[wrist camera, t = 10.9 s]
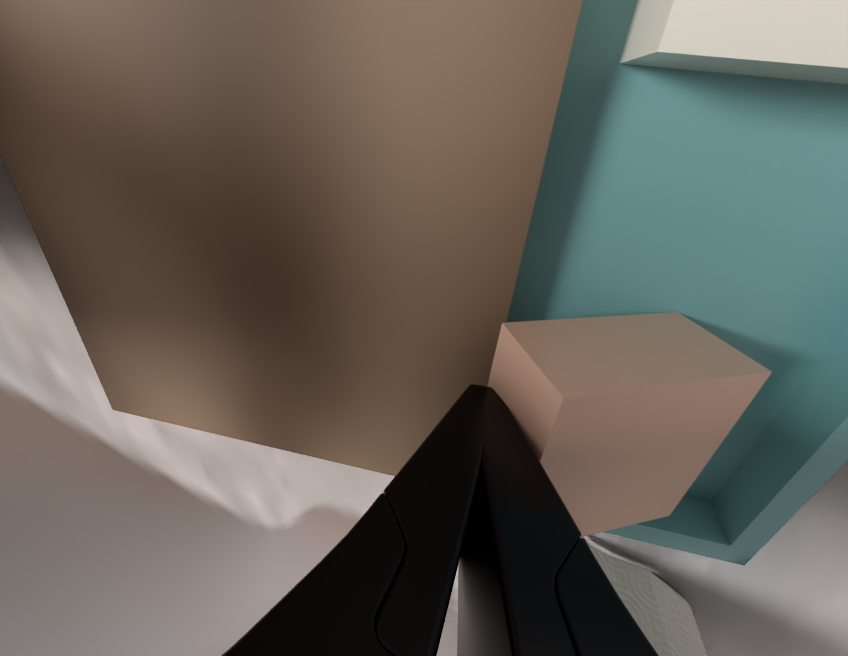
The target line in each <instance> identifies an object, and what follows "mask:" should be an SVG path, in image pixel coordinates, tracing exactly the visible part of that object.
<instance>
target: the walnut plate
mask: <svg viewBox="0 0 848 656" xmlns="http://www.w3.org/2000/svg"><path fill="white" fill-rule="evenodd" d="M582 1H583V0H0V155H1V157H2V159H3V162H4V164H5V166H6V168H7V171H8V173H9V175H10V177H11V180H12V182H13V184H14V187H15V189H16V191H17V193H18V196H19V198H20V200H21V202H22V205H23V207H24V209H25V212H26V214H27V216H28V218H29V221H30V223H31V225H32V227H33V230H34V232H35V234H36V236H37V239H38V241H39V243H40V246H41V248H42V250H43V252H44V255H45V257H46V259H47V261H48V264H49V266H50V268H51V271H52V273H53V275H54V277H55V280H56V282H57V284H58V286H59V289H60V291H61V293H62V296H63V298H64V300H65V302H66V305H67V307H68V309H69V311H70V314H71V316H72V318H73V320H74V323H75V325H76V327H77V330H78V332H79V334H80V336H81V339H82V341H83V343H84V345H85V348H86V350H87V352H88V355H89V357H90V359H91V361H92V364H93V366H94V368H95V370H96V373H97V375H98V377H99V380H100V382H101V384H102V386H103V389H104V391H105V393H106V395H107V398H108V400H109V402H110V404H111V407H112V409H113V410H116V411H120V412H125V413H129V414H133V415H137V416H142V417H146V418H150V419H154V420H159V421H163V422H167V423H171V424H176V425H180V426H184V427H188V428H193V429H197V430H201V431H205V432H210V433H214V434H218V435H222V436H227V437H231V438H235V439H239V440H244V441H248V442H252V443H256V444H261V445H265V446H269V447H273V448H278V449H282V450H286V451H291V452H295V453H299V454H303V455H308V456H312V457H316V458H320V459H325V460H329V461H333V462H337V463H342V464H346V465H350V466H354V467H359V468H363V469H367V470H371V471H376V472H380V473H384V474H388V475H393V476H396V475H397V474H398V472H399V471H400V470H401V469H402V467H403V466H404V465H405V464H406V462H407V461H408V460H409V459H410V457H411V456H412V455H413V454H414V453H415V451H416V450H417V449H418V448H419V446H420V445H421V444H422V443H423V441H424V440H425V439H426V438H427V436H428V435H429V434H430V433H431V431H432V430H433V429H434V428H435V426H436V425H437V424H438V423H439V421H440V420H441V419H442V418H443V416H444V415H445V414H446V413H447V412H448V410H449V409H450V408H451V407H452V405H453V404H454V403H455V402H456V400H457V399H458V398H459V397H460V395H461V394H462V393H463V392H464V390H465V389H466V388H467V387H468V386H469V385H470V384H476V385H482V386H487V385H488V381H489V376H490V372H491V368H492V364H493V359H494V355H495V351H496V347H497V342H498V338H499V334H500V330H501V325H502V323H506V321H507V317H508V313H509V309H510V305H511V300H512V296H513V292H514V288H515V284H516V279H517V275H518V271H519V267H520V262H521V258H522V254H523V250H524V246H525V241H526V237H527V233H528V229H529V224H530V220H531V216H532V212H533V208H534V203H535V199H536V195H537V191H538V186H539V182H540V178H541V174H542V170H543V165H544V161H545V157H546V153H547V149H548V144H549V140H550V136H551V132H552V127H553V123H554V119H555V115H556V111H557V106H558V102H559V98H560V94H561V89H562V85H563V81H564V77H565V73H566V68H567V64H568V60H569V56H570V51H571V47H572V43H573V39H574V35H575V30H576V26H577V22H578V18H579V13H580V9H581V5H582Z"/></svg>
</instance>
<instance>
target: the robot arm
mask: <svg viewBox="0 0 848 656" xmlns="http://www.w3.org/2000/svg"><path fill="white" fill-rule="evenodd" d="M458 563H459V572H458V644H457V656H659V655H658V654H657V652H656V651H655V649H654V648H653V646H652V645H651V644H650V642H649V641H648V639H647V638H646V636H645V635H644V633H643V632H642V630H641V629H640V627H639V626H638V624H637V623H636V621H635V620H634V618H633V617H632V615H631V614H630V612H629V611H628V609H627V608H626V606H625V605H624V603H623V602H622V600H621V599H620V597H619V596H618V594H617V592H616V591H615V589H614V587H613V586H612V584H611V582H610V581H609V579H608V578H607V576H606V574H605V573H604V571H603V569H602V568H601V566H600V564H599V563H598V561H597V559H596V558H595V556H594V554H593V552H592V551H591V549H590V547H589V545H588V544H587V542H586V540H585V539H584V538H581V532H580V530H579V528H578V527H577V525H576V523H575V521H574V520H573V518H572V516H571V515H570V513H569V511H568V509H567V508H566V506H565V504H564V502H563V501H562V499H561V497H560V495H559V494H558V492H557V490H556V489H555V487H554V485H553V483H552V482H551V480H550V478H549V476H548V475H547V473H546V471H545V469H544V468H543V466H542V464H541V463H540V461H539V459H538V457H537V456H536V454H535V452H534V450H533V449H532V447H531V445H530V443H529V442H528V440H527V438H526V437H525V435H524V433H523V431H522V430H521V428H520V426H519V424H518V423H517V421H516V419H515V417H514V416H513V414H512V412H511V411H510V409H509V408H508V406H507V405H506V404H505V403H504V401H503V400H502V399H501V398H500V396H499V395H498V394H497V393H496V392H495V390H494V389H493V388H491V387H487V386H482V385H476V384H470V385H469V386H468V387H467V388H466V389H465V390H464V392H463V393H462V394H461V395H460V397H459V398H458V399H457V400H456V402H455V403H454V404H453V405H452V407H451V408H450V409H449V410H448V412H447V413H446V414H445V415H444V416H443V418H442V419H441V420H440V421H439V423H438V424H437V425H436V426H435V428H434V429H433V430H432V431H431V433H430V434H429V435H428V436H427V438H426V439H425V440H424V441H423V443H422V444H421V445H420V446H419V448H418V449H417V450H416V451H415V453H414V454H413V455H412V456H411V457H410V459H409V460H408V461H407V462H406V464H405V465H404V466H403V467H402V469H401V470H400V471H399V472H398V474H397V475H396V476H395V477H394V479H393V480H392V481H391V482H390V484H389V485H388V486H387V487H386V489H385V490H384V494H383V493H382V494H380V496H379V497H378V498H377V499H376V501H375V502H374V503H373V504H372V506H371V507H370V508H369V509H368V510H367V512H366V513H365V514H364V515H363V516H362V517H361V519H360V520H359V521H358V522H357V523H356V524H355V526H354V527H353V528H352V529H351V530H350V531H349V532H348V534H347V535H346V536H345V537H344V538H343V539H342V540H341V541H340V542H339V543H338V544H337V545H336V546H335V547H334V548H333V549H332V550H331V551H330V552H329V553H328V554H327V555H326V556H325V557H324V558H323V559H322V560H321V562H319V563H318V564H317V565H316V566H315V567H314V568H313V569H312V570H311V571H310V572H309V573H308V574H307V575H306V576H305V577H304V578H303V579H302V580H301V581H300V582H299V583H298V584H297V585H296V586H295V587H294V588H293V589H291V591H289V592H288V593H287V594H286V595H285V596H284V597H283V598H282V599H281V600H280V601H279V602H278V603H277V604H276V605H275V606H274V607H273V608H272V609H271V610H270V611H269V612H268V613H267V614H266V615H265V616H264V617H262V618H261V619H260V620H259V622H257V623H256V624H255V625H254V626H253V627H252V628H251V629H250V630H249V631H248V632H247V633H246V634H245V635H244V636H243V637H242V638H241V639H240V640H238V641H237V642H236V643H235V644H234V645H233V646H232V647H231V648H230V649H229V650H228V651H226V652H225V653H224V654H223V655H222V656H436V654H437V651H438V647H439V642H440V638H441V634H442V630H443V626H444V622H445V617H446V613H447V609H448V605H449V601H450V597H451V592H452V588H453V584H454V580H455V576H456V571H457V567H458Z"/></svg>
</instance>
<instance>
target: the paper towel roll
mask: <svg viewBox="0 0 848 656" xmlns="http://www.w3.org/2000/svg"><path fill="white" fill-rule="evenodd" d="M581 538H582V537H581ZM587 544H588V545H589V547H590V549H591V551H592V552H593V554H594V556H595V558H596V559H597V561H598V563H599V564H600V566H601V568H602V569H603V571H604V573H605V574H606V576H607V578H608V579H609V581H610V582H611V584H612V586H613V587H614V589H615V591H616V592H617V594H618V596H619V597H620V599H621V600H622V602H623V603H624V605H625V606H626V608H627V609H628V611H629V612H630V614H631V615H632V617H633V618H634V620H635V621H636V623H637V624H638V626H639V627H640V629H641V630H642V632H643V633H644V635H645V636H646V638H647V639H648V641H649V642H650V644H651V645H652V646H653V648H654V649H655V651H656V652H657V654H658V655H659V656H707V653H706V650H705V647H704V644H703V641H702V639H701V636H700V633H699V630H698V627H697V624H696V621H695V618H694V615H693V612H692V609H691V607H690V605H689V604H688V602H687V601H686V600H685V599H684V598H682V597H681V596H680V595H679V594H678V593H677V592H675V591H674V590H673V589H672V588H671V587H670V586H668V585H667V584H666V583H664V582H663V581H662V580H660V579H659V578H658V577H657V576H655V575H654V574H653V573H651V572H650V571H649V570H648V569H645V568H642V567H639V566H636V565H634V564H631V563H628V562H625V561H623V560H620V559H617V558H614V557H612V556H609V555H608V554H606V553H604V552H602V551H600V550H599V549H597V548H595V547H593V546H591V545H590V544H589V543H588V542H587Z"/></svg>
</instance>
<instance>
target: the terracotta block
mask: <svg viewBox="0 0 848 656" xmlns="http://www.w3.org/2000/svg"><path fill="white" fill-rule="evenodd" d="M771 373H772V371H770V370H768V369H767V368H765V367H764V366H762V365H760V364H759V363H757V362H756V361H754V360H753V359H751V358H749V357H748V356H746V355H745V354H743V353H742V352H740V351H738V350H737V349H735V348H734V347H732V346H730V345H729V344H727V343H726V342H724V341H723V340H721V339H719V338H718V337H716V336H715V335H713V334H711V333H710V332H708V331H707V330H705V329H704V328H702V327H700V326H699V325H697V324H696V323H694V322H693V321H691V320H689V319H688V318H686V317H685V316H683V315H681V314H680V313H678V312H668V313H652V314H636V315H620V316H603V317H587V318H571V319H555V320H539V321H523V322H507V323H502V325H501V330H500V334H499V338H498V342H497V347H496V351H495V355H494V359H493V364H492V368H491V372H490V376H489V381H488V385H487V387H491V388H493V389H494V390H495V392H496V393H497V394H498V395H499V396H500V398H501V399H502V400H503V401H504V403H505V404H506V405H507V406H508V408H509V409H510V411H511V412H512V414H513V416H514V417H515V419H516V421H517V423H518V424H519V426H520V428H521V430H522V431H523V433H524V435H525V437H526V438H527V440H528V442H529V443H530V445H531V447H532V449H533V450H534V452H535V454H536V456H537V457H538V459H539V461H540V463H541V464H542V466H543V468H544V469H545V471H546V473H547V475H548V476H549V478H550V480H551V482H552V483H553V485H554V487H555V489H556V490H557V492H558V494H559V495H560V497H561V499H562V501H563V502H564V504H565V506H566V508H567V509H568V511H569V513H570V515H571V516H572V518H573V520H574V521H575V523H576V525H577V527H578V528H579V530H580V532H581V537H583V536H587V535H591V534H596V533H600V532H604V531H608V530H612V529H616V528H620V527H625V526H629V525H633V524H637V523H641V522H645V521H649V520H654V519H658V518H662V517H666V516H670V514H671V513H672V511H673V510H674V509H675V507H676V506H677V504H678V503H679V502H680V500H681V499H682V497H683V496H684V495H685V493H686V492H687V490H688V489H689V488H690V486H691V485H692V483H693V482H694V481H695V479H696V478H697V476H698V475H699V474H700V472H701V471H702V469H703V468H704V467H705V465H706V464H707V462H708V461H709V460H710V458H711V457H712V455H713V454H714V453H715V451H716V450H717V448H718V447H719V446H720V444H721V443H722V441H723V440H724V439H725V437H726V436H727V434H728V433H729V432H730V430H731V429H732V427H733V426H734V425H735V423H736V422H737V420H738V419H739V418H740V416H741V415H742V413H743V412H744V411H745V409H746V408H747V406H748V405H749V404H750V402H751V401H752V399H753V398H754V397H755V395H756V394H757V392H758V391H759V390H760V388H761V387H762V385H763V384H764V383H765V381H766V380H767V378H768V377H769V376H770V374H771Z"/></svg>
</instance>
